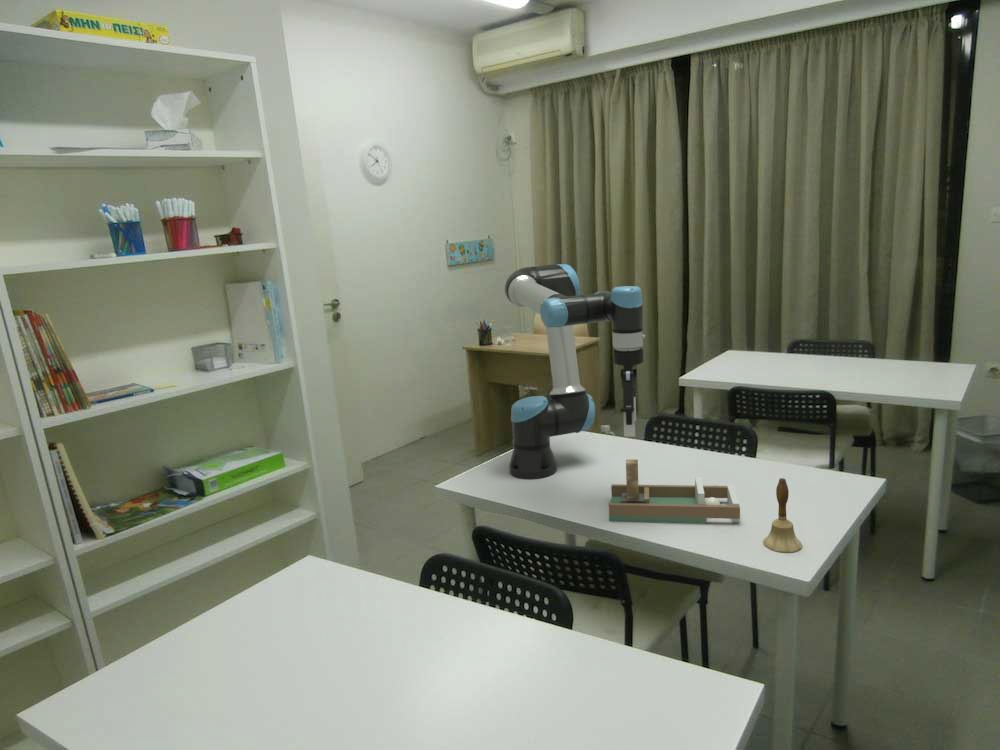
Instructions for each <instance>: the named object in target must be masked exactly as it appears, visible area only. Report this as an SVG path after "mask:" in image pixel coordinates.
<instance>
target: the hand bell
mask: <svg viewBox="0 0 1000 750" xmlns="http://www.w3.org/2000/svg"><path fill="white" fill-rule="evenodd" d="M775 491H776V493H775V494H776V496H775V497H776V501H777V503H778V518H777V519H773V520H772V521H771V522H772V523H771V528H770V532H769V534H768V535H767V536H766V537H765V538H763V541H762V543H763V546H764V547H766V548H767V549H769V550H771V551H774V552H778V553H786V554H787V553H790V554H791V553H796V552H799V551H801V550H802V548H803V543H802V541H800V540H799V539H798V537H797V536H796V533H795V531H794V530H795V529H794V524H793V522H792V521H790V520H788V519H787V503H788V500H789V492H790V491H789V486H788V484H787V480H786V478H784V477H783V478H782V477H781V478H779V480H778V483H777V486H776V489H775Z"/></svg>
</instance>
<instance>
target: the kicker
mask: <svg viewBox="0 0 1000 750" xmlns="http://www.w3.org/2000/svg"><path fill="white" fill-rule="evenodd" d="M638 461H639V460H638V459H626V460H625V472H626V473H625V478H626V479H625V481H626V485H627V493H622V497H621V503H635V504H649V487H644V494H639V485H640V484H639V464H638V463H639V462H638Z"/></svg>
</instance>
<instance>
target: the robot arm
mask: <svg viewBox="0 0 1000 750" xmlns="http://www.w3.org/2000/svg"><path fill="white" fill-rule="evenodd" d="M505 281H506V282H505V284H504V293H505V296H506V299H508V301H509V302H510V303H511V304H513V305H515V306H517V307H522V308H525V307H526V308H527V309H529V310H531V311H533V312H535V313H536V314H538V315H540V318H541V319H540V320H541V322H542V323H543V325H544V327H545V332H546V340H547V347H548V355H549V361H550V372H551V378H552V387H553V388H552V390H551V391H550V392H549V399H548V398H547V397H546V396H543V395H536V396H533V395H532V396H527V397H525V398H521V399H519V400H517V401H515V402H514V403H513V404H512V405H511V410H510V411H511V413H510V414H511V415H510V421H511V428H512V429H511V430H512V441H513V442H512V446H513V449H512V454H511V458H510V462H509V474H510V475H511V476H514V477H515V478H519V479H528V480H533V479H534V480H535V479H542V478H546V477H550V476H551V475H554V474H555V473H556V472H557V470H558V467H557V465H558V464H557V460H556V458H555V456H554V453H553V449H552V447H551V442H550V441H551V437H552V438H553V437H556V436H564V435H568V434H578V433H580V432H584V431H588V430H589V429H591V428H592V426H593V424H594V421H595V418H596V405H595V402H594V398H593V397H592V396H591V394H588V393H587V392H586V387H585V388H584V387H583V385H581V382H580V372H579V363H578V356H577V348H576V341H575V340H576V339H575V334H574V333H575V332H574V326H577V325H585V324H592V323H602V322H609V323H611V325H612V330H611V332H612V347H613V348H614V349H613V350H612V352H613V353H612V355H613V356H612V357H613V364H615V365H618V366H623V369H621V370H620V379H621V387H622V389H623V390H622V392H623V393H622V395H623V399H622V400H623V402H622V403H623V405H622V406H623V408H620V413H622V415H623V436H624V437H625V438H626V437H627V438H632V437H636V422H637V408H636V407H637V405H636V402H637V401H636V397H638V396H639V392H638V391H636V386H637V385H636V382H637V377H638V375H637V368H635V365H636V366H638V365H642V363H643V362H644V349H643V348H642V347H643V346H644V339H645V338H646V334H643V331H644V330H643V328H644V325H643V322H644V320H643V319H644V317H643V311H644V310H643V304H644V302H643V296H642V289H641V288H640V287H639V286H637V285H636V286H635V285H633V286H632V285H623V286H615V287H613V288H612V290H611V292H610V291H608V290H607V291H606V290H605V291H597V292H595V293H589V294H581V293H580V290H581V287H580V286H581V285H580V284H581V283H580V280H579V277H578V274H577V272H576V271H575V269H574V268H573V267H572V266H571V265H569V264H567V263H566V264H565V263H563V264H561V263H559V264H558V263H556V264H555V263H554V264H547V265H539V266H538V265H536V266H525V267H521V268H519V269H516V270H515V271H513V272H512V273H511V274H510V275H509V276H508V278H507V280H505Z"/></svg>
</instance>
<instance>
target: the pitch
mask: <svg viewBox="0 0 1000 750" xmlns="http://www.w3.org/2000/svg"><path fill="white" fill-rule="evenodd" d="M638 485H639V494H644V487H649V504H635V503H621V497H622V493H627V484H620V483H619V484H618V483H617V484H616V483H613V484H611V487H610V488H611V499H610V502H609V503H608V518H609V520H608V521H609V522H624V523H625V522H626V523H627V522H629V523H631V522H632V523H635V522H636V523H667V524H668V523H669V524H675V523H676V524H702V525H703V524H704V525H705V524H707V519H726V520H727V519H728V520H729V519H730V520H732V523H740V519H741V507H740V502H739V499H738V495H737V492H736V490H735V486H734V485H703V480H702V476H695V477H694V485H691V484H690V485H688V484H686V485H683V484H679V485H678V484H638ZM710 497H714V498H716V499H726V500H727V505H726V504H722V505H721V504H720V505H705V501H706V499H708V498H710Z"/></svg>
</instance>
